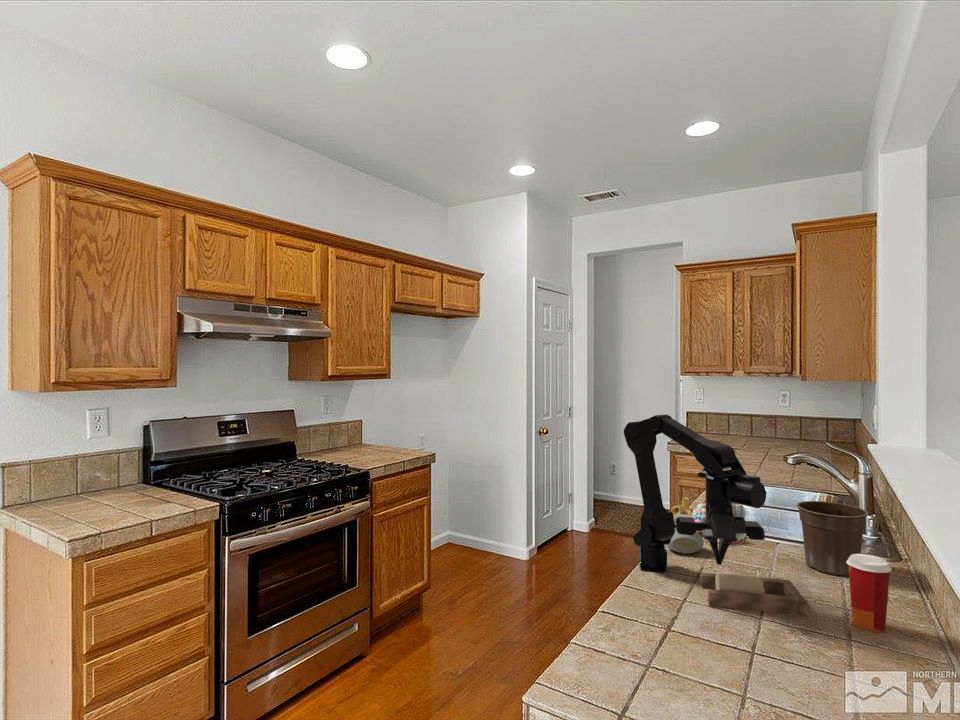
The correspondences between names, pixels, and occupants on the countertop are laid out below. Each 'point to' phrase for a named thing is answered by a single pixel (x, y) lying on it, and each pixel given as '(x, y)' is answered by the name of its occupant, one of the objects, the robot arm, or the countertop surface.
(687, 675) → the countertop surface
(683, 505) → the candy landscape model
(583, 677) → the countertop surface
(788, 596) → the u rest
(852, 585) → the paper cup
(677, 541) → the air freshener
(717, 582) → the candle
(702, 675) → the countertop surface
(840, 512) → the plant pot
